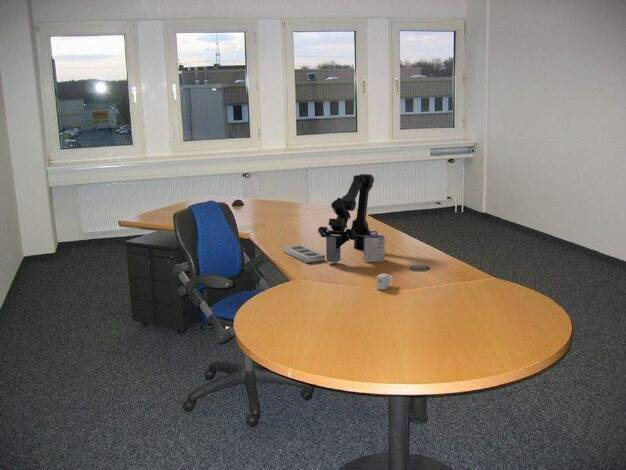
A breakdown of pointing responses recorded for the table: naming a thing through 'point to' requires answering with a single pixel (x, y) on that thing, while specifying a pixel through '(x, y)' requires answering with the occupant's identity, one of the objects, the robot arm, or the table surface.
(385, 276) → the power adapter
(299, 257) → the silver compartment tray
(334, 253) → the steel square peg
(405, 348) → the table surface
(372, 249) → the ink cartridge box
